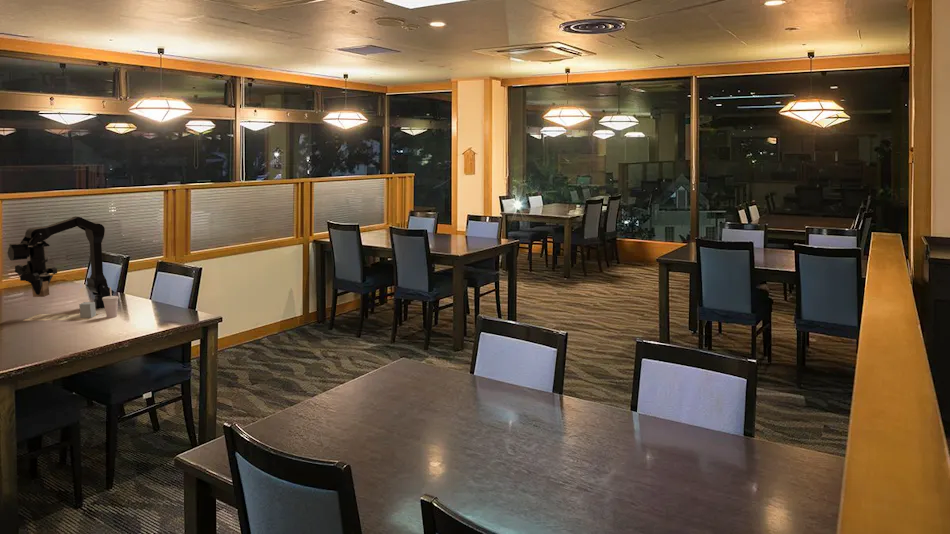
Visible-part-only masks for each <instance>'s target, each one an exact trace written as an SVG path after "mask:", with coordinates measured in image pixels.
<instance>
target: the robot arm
mask: <svg viewBox="0 0 950 534" xmlns="http://www.w3.org/2000/svg"><path fill="white" fill-rule="evenodd" d="M76 227H77V228H79V229H81V230H83V231H84V232H85V236H86V239H87V241H88V242H89V253H90V254H89V256H90V269H91V270H90V271H91V272H90V273H91V274H90V275H89V276H90V277H86V283H87V284H86V287H87V288H88V290H89V291H90V292H91V293H92V296H94V299H93V302H95V309H102V308H104V309H105V307H104V302H103V301H102V298H103V297H107V296H110V287H109V284H108V280H107V278H106V275H104V267H103V266H104V265H103V249H102V248H103V247H102V245H103V244H102V242H103V239H104V238H105V231H106V230H105V229H106V228H105V226H104V225H103V224H102V223H97V222H92V221H90V220H88V219H85V218H84V217H82V216H76V215H75V216H73V217H70V218H68V219H63V220H62V221H61V220H60V221H58V222H56V223H53V224H49V225H46V226H36V227H35V226H34V227H30V228H28V229H26V231H25V234H24V237H23V238H22V240H21V241H20V242H19V243H9V245H8V249H7V256H8V259H9V260H10V261H20V260H27V259H28V258H29V260H27V262H26V264H24V265H21V264H17V265H15V266H14V273H15V274H17V275H18V276H19V281H21V282H22V281H23V282H28V284H29V283H30V285H31V288H32V287H33V289H34V291H35V293H36V295H39V294H40V291H41V286H42V281H48V285H49V284H50V283H51V280H52V278H53V277H54V275H56V274H58V269H57V268H56V267H55V266H47V262H48V261H49V260H48V258H46V252H45V251H46V250H45V247H50V246H51V244H49V243H47V241H46V240H48V239H49V238H50V237H51V236H54V235H56V234H58V233H59V234H60V233H62V232H64V231H65V232H66V231H67V230H70V229H74V228H76ZM111 293H112V296H114V294H115V293H114V290H113V289H112V288H111Z"/></svg>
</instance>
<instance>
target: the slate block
mask: <svg viewBox="0 0 950 534" xmlns="http://www.w3.org/2000/svg"><path fill="white" fill-rule="evenodd" d="M78 305H79V314H80V318H91V319H93V318H95V317H96V314H97V313H96V311H97V310H96V309H97V308H95V302H94V301H83V302H82V303H81V302H80V303H78ZM94 316H95V317H94ZM92 317H93V318H92Z"/></svg>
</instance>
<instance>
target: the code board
mask: <svg viewBox="0 0 950 534" xmlns="http://www.w3.org/2000/svg"><path fill="white" fill-rule="evenodd" d="M99 315H100V313H96V316H99ZM96 316H94V317H92V318H80V313H41V314H40V313H37V314H35V315H33V316H32V315H31V316H30V317H28V318H25V319H23V320H22V321H26V322H27V321H31V322H35V321H38V322H39V321H88V320H91V319H93V318H95V317H96Z"/></svg>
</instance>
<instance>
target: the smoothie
mask: <svg viewBox="0 0 950 534" xmlns="http://www.w3.org/2000/svg"><path fill="white" fill-rule="evenodd" d="M109 288H110V296H107V297H103V298H102V301H103V302H104V307H105V308H104V312H105V315H106V318H107V319H115V318H118V305H119V303H118V302H119V296H118V295H113V296H112V293H111V289H112V287H111V286H110V287H109Z"/></svg>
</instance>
